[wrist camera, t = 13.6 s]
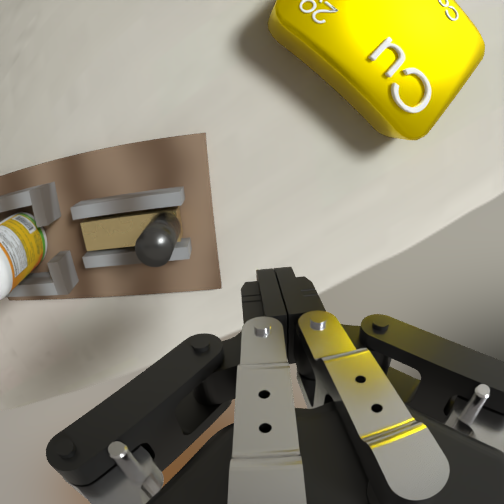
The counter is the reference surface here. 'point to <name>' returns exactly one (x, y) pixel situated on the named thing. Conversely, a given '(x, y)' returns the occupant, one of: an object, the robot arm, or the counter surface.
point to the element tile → (384, 55)
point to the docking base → (111, 202)
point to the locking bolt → (137, 233)
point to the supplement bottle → (19, 249)
